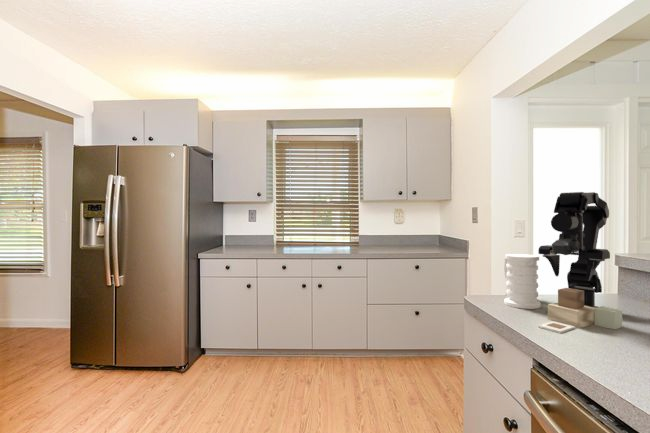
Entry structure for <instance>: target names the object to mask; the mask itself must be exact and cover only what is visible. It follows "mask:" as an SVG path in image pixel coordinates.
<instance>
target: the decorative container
mask: <svg viewBox="0 0 650 433" xmlns="http://www.w3.org/2000/svg"><path fill="white" fill-rule="evenodd" d="M504 256H505V259H507V265H506V267H507V274H506V275H507V282H506V281H505V283H506V292H507V294H508V297H507V296H506V298H504V305H506V306H508V307H511V308H512V307H513V308H517V309H523V310H536V309H537V310H538V309H541V307H542V306H541V302H540V301H539V300H537V298H538V297H539V292H538V288H539V284H538V282H537V280H538V279H539V274H538V273H537V272H538V270H539V266H538V265H537V264H538V262H539V261H540V256H539V255H537V254H527V253H506V254H505V255H504ZM505 259H504V260H505ZM506 292H505V293H506Z"/></svg>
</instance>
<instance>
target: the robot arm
mask: <svg viewBox="0 0 650 433" xmlns="http://www.w3.org/2000/svg"><path fill="white" fill-rule="evenodd" d="M599 196H600V195H599V193H598V192H595V191H593V192H591V191H590V192H584V191H576V192H575V191H574V192H573V191H571V192H560V194H559V196H557V197H556V202H555V205H554V210H553V213H554V214H555V215H554V216H552V218H551V220H550V225H551V227H552V228H553V230H554V231H556V232H559V236H558V239H556V240H555V241H554V242H553V243H551V245H548V244H547V245H540V246H538V255H542V258H543V257H544V258H545V259H547V260H548V262H549V264H550V266H551V267H552V271H553V273H554V275H555V277H559V275H560V262H561V260H560V258H561V255H563V256H568V255H571V256H572V255H573V256H578V258H577V261H575V262H571V263H570V266H569V267H570V268H569V271H568V272H567V274H566V275H567V276H566V281H567V288H571V289H577V290H584V305H585V306H589V307H594V308H598V307H599V306H598V305H596V304H595V302H596V300H595V299H596V296H595V293H596V294H599V293H602V292H603V287H602V282H601V279H600V277H599V274H598V272H597V268H598V266H599V265H600V264H601V262H605V260H609V259H610V258H611V252H610V251H609V250H608V249H605V248H602V249H601V248H597V244H598V239H599V232H600V230H601V228H603V227H604V226H605V225H606V224H607V219H608V218H610V209H609V207H608V204H607V202H606V201H605V200H604V199H602V198H601V197H599ZM592 204H593V205H592Z"/></svg>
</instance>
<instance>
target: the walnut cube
mask: <svg viewBox="0 0 650 433" xmlns="http://www.w3.org/2000/svg"><path fill="white" fill-rule="evenodd" d="M557 303H558V306H562V307H567V308H572V309H579V308H582V307H584V290H577V289H571V288H568V287H563V288H559V289H557Z"/></svg>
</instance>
